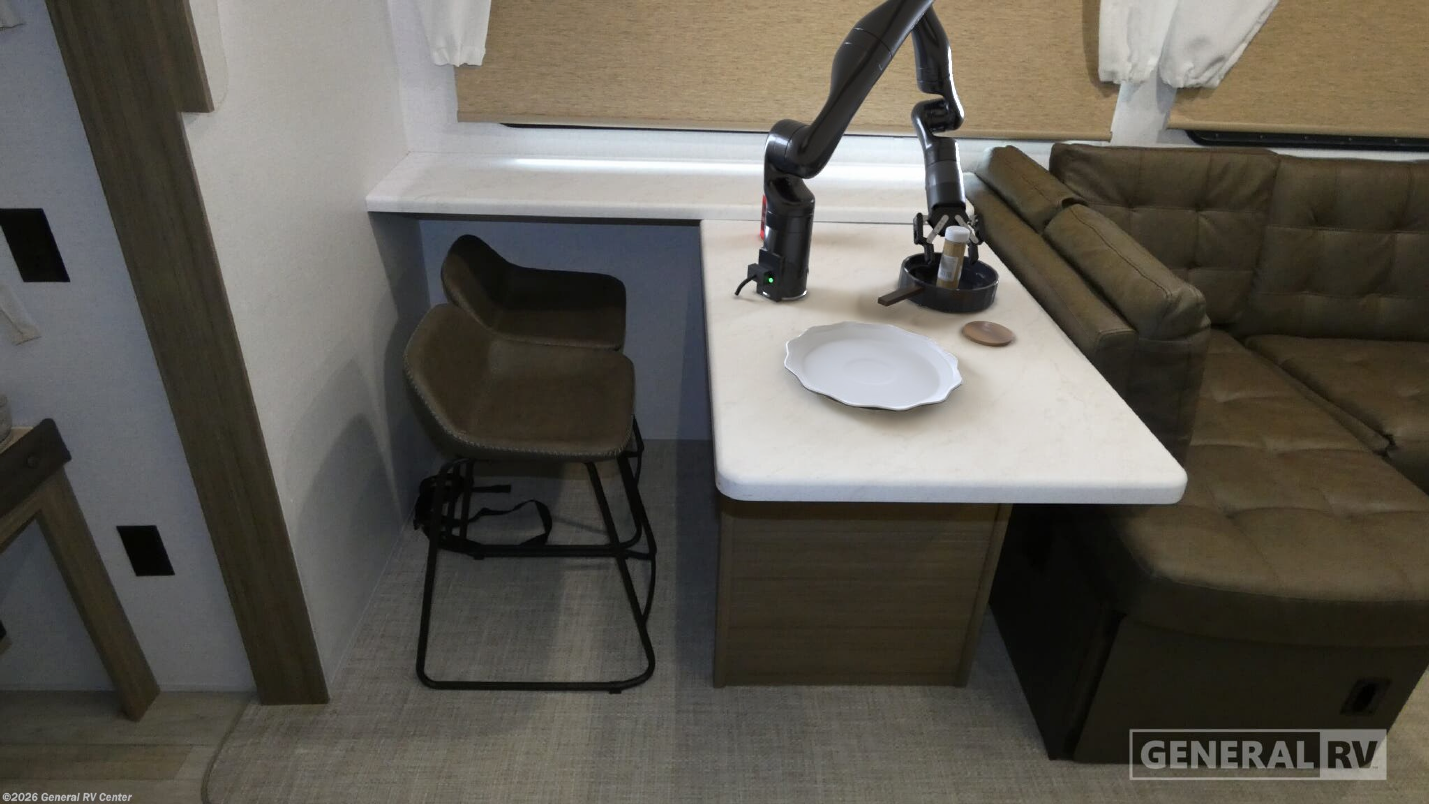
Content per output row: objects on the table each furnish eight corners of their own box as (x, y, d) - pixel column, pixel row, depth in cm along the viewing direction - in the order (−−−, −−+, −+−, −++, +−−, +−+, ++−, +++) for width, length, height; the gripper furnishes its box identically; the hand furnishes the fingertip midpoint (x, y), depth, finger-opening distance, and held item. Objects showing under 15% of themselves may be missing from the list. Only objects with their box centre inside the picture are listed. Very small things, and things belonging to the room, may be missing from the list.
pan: (956, 322, 159) (962, 298, 156) (878, 288, 171) (882, 265, 168) (1012, 297, 170) (1018, 274, 167) (935, 266, 182) (939, 245, 179)
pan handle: (913, 288, 164) (914, 283, 163) (922, 292, 162) (923, 287, 161) (877, 303, 157) (878, 297, 157) (886, 307, 156) (887, 301, 155)
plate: (754, 347, 147) (755, 335, 146) (894, 323, 157) (896, 311, 156) (839, 436, 125) (841, 423, 123) (996, 401, 135) (999, 388, 134)
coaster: (994, 350, 150) (995, 348, 149) (953, 332, 155) (953, 329, 155) (1022, 336, 155) (1022, 334, 155) (980, 319, 160) (981, 316, 160)
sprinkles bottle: (961, 294, 170) (975, 231, 162) (945, 298, 167) (959, 234, 160) (944, 285, 173) (957, 223, 166) (929, 290, 171) (941, 227, 163)
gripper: (916, 179, 165) (924, 256, 162) (986, 180, 167) (994, 256, 163) (905, 196, 173) (911, 270, 169) (971, 197, 174) (979, 270, 171)
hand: (952, 263), depth 166 cm, fingers open, 8 cm apart
